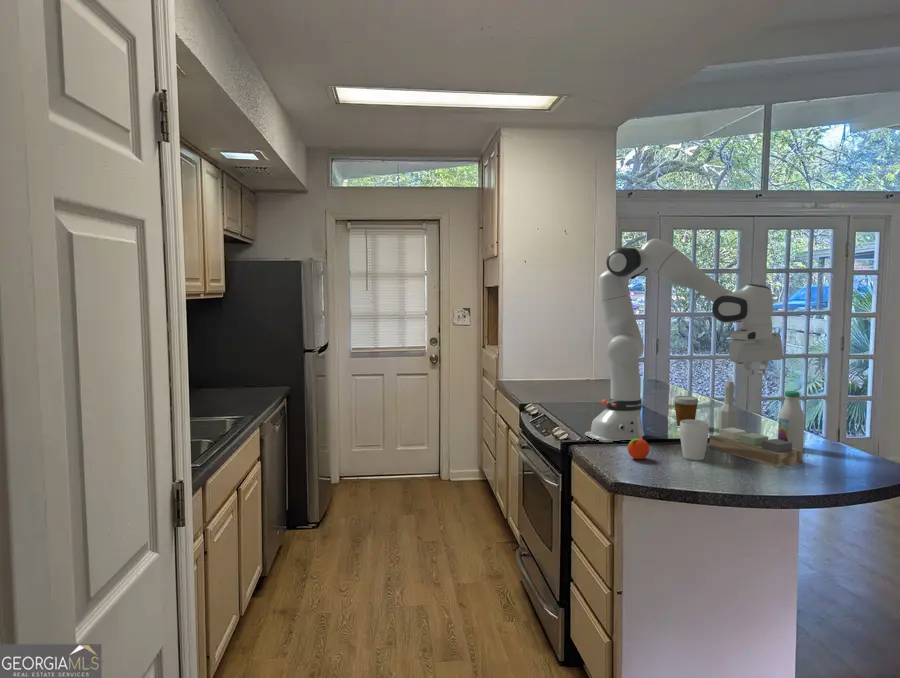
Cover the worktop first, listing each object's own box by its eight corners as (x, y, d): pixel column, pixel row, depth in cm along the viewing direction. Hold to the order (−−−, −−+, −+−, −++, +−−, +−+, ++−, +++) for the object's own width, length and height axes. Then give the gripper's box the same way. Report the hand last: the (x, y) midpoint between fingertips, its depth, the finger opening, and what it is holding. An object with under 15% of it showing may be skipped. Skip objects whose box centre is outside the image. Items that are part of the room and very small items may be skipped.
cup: (707, 455, 207) (708, 420, 206) (709, 462, 198) (709, 425, 197) (678, 453, 210) (679, 418, 209) (679, 460, 201) (679, 424, 200)
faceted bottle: (728, 438, 230) (730, 379, 228) (741, 442, 224) (743, 382, 222) (714, 439, 228) (716, 380, 227) (727, 443, 222) (728, 383, 221)
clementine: (635, 463, 198) (635, 441, 198) (620, 458, 204) (620, 437, 204) (653, 460, 202) (654, 438, 201) (638, 455, 208) (638, 434, 208)
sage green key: (754, 450, 203) (754, 438, 203) (739, 446, 209) (740, 434, 208) (768, 448, 205) (768, 436, 205) (753, 444, 211) (753, 432, 210)
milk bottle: (802, 447, 216) (803, 390, 215) (804, 452, 209) (806, 394, 208) (777, 444, 220) (778, 389, 218) (778, 450, 213) (780, 392, 211)
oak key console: (774, 467, 192) (775, 454, 192) (709, 447, 217) (709, 436, 217) (802, 463, 197) (802, 450, 196) (735, 443, 222) (735, 432, 221)
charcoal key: (777, 457, 195) (778, 444, 194) (762, 452, 200) (762, 440, 200) (791, 455, 197) (792, 442, 196) (775, 450, 202) (776, 438, 202)
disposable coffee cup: (701, 429, 244) (702, 399, 244) (677, 429, 245) (678, 399, 244) (692, 424, 254) (693, 395, 253) (669, 424, 254) (670, 395, 253)
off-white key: (732, 444, 211) (733, 432, 211) (719, 440, 217) (719, 429, 217) (746, 442, 213) (746, 431, 213) (732, 438, 219) (732, 427, 219)
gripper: (772, 331, 210) (771, 371, 212) (726, 333, 203) (725, 375, 204) (788, 332, 205) (787, 374, 206) (741, 334, 197) (740, 377, 198)
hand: (755, 374), depth 205 cm, fingers open, 4 cm apart
